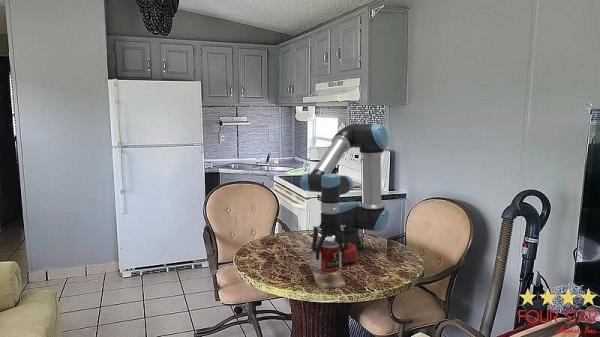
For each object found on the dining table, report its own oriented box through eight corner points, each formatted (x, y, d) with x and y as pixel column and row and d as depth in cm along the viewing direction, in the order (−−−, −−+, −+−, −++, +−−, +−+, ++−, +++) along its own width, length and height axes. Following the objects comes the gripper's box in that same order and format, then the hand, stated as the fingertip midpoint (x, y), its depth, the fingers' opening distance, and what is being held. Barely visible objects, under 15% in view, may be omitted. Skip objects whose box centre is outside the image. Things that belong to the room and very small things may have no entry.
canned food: (326, 274, 169) (326, 247, 168) (316, 268, 176) (316, 242, 175) (342, 271, 172) (343, 244, 171) (332, 265, 180) (332, 239, 178)
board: (333, 267, 192) (333, 264, 192) (345, 286, 170) (345, 283, 170) (309, 268, 190) (309, 265, 190) (318, 288, 169) (318, 284, 169)
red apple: (353, 267, 192) (354, 246, 191) (331, 265, 196) (332, 244, 194) (359, 260, 202) (359, 239, 201) (338, 257, 206) (338, 237, 205)
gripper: (306, 214, 166) (306, 271, 169) (357, 213, 169) (356, 268, 172) (303, 210, 174) (303, 264, 176) (352, 209, 177) (351, 262, 179)
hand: (329, 266), depth 174 cm, fingers closed on canned food, 8 cm apart
